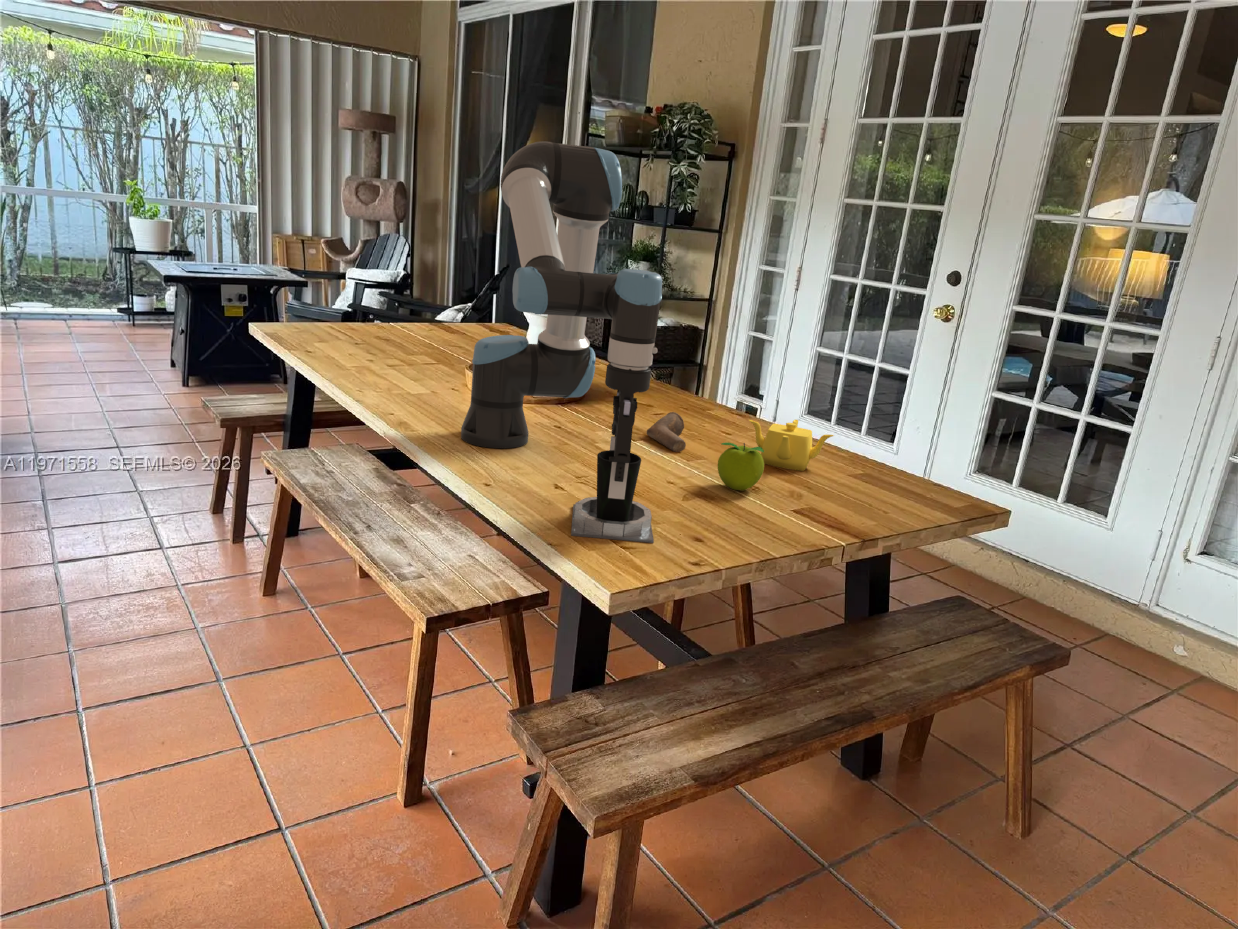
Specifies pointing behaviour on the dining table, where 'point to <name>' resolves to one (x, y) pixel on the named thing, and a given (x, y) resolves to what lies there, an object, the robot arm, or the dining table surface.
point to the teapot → (788, 445)
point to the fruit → (740, 466)
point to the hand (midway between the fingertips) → (615, 484)
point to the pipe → (668, 431)
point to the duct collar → (611, 523)
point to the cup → (608, 506)
